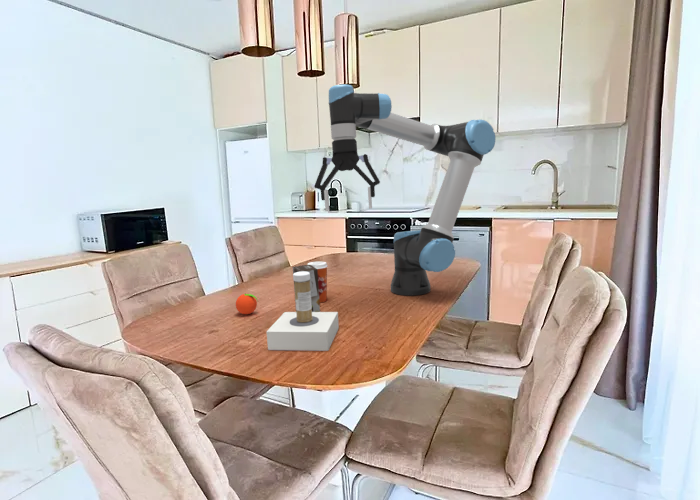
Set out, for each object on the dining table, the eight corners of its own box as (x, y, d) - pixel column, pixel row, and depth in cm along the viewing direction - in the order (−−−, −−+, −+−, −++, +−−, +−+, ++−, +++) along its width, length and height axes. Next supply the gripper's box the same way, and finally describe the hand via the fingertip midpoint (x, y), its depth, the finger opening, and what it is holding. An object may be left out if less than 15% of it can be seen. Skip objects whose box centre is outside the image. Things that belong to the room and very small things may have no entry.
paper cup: (324, 304, 144) (322, 265, 141) (305, 303, 146) (302, 265, 144) (332, 298, 151) (330, 261, 149) (313, 297, 154) (311, 260, 151)
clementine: (264, 311, 139) (262, 291, 138) (254, 317, 133) (252, 296, 132) (243, 310, 142) (241, 290, 140) (232, 316, 135) (230, 296, 134)
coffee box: (321, 318, 129) (318, 269, 126) (301, 321, 127) (298, 271, 124) (313, 310, 137) (310, 264, 135) (295, 313, 135) (291, 266, 133)
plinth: (338, 328, 120) (337, 311, 119) (328, 350, 104) (327, 331, 103) (286, 328, 122) (284, 311, 121) (268, 349, 106) (266, 330, 106)
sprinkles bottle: (297, 318, 114) (294, 271, 112) (313, 317, 114) (310, 270, 112) (295, 323, 110) (291, 275, 108) (312, 323, 110) (308, 274, 108)
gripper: (385, 137, 126) (389, 206, 130) (306, 143, 129) (312, 210, 133) (384, 135, 119) (388, 208, 122) (301, 142, 122) (307, 212, 125)
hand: (348, 209), depth 128 cm, fingers open, 13 cm apart
